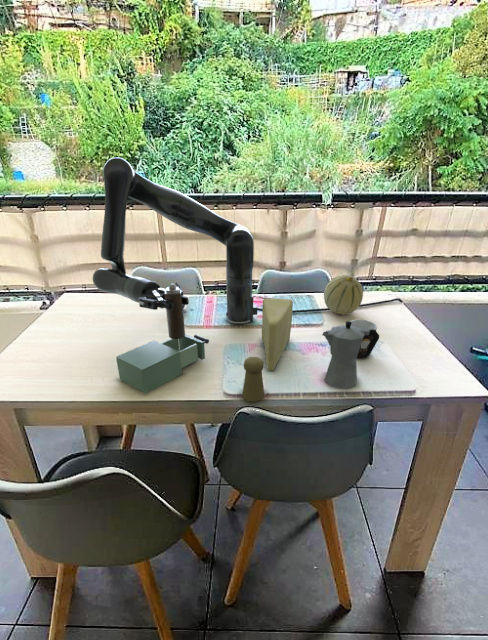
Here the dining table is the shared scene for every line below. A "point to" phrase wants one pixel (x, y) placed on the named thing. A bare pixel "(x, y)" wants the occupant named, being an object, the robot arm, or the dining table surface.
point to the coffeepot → (346, 353)
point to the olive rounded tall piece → (253, 379)
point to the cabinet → (149, 366)
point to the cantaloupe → (343, 294)
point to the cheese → (276, 328)
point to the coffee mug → (366, 340)
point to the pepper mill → (175, 312)
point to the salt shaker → (180, 289)
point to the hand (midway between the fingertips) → (180, 304)
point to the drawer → (188, 348)
